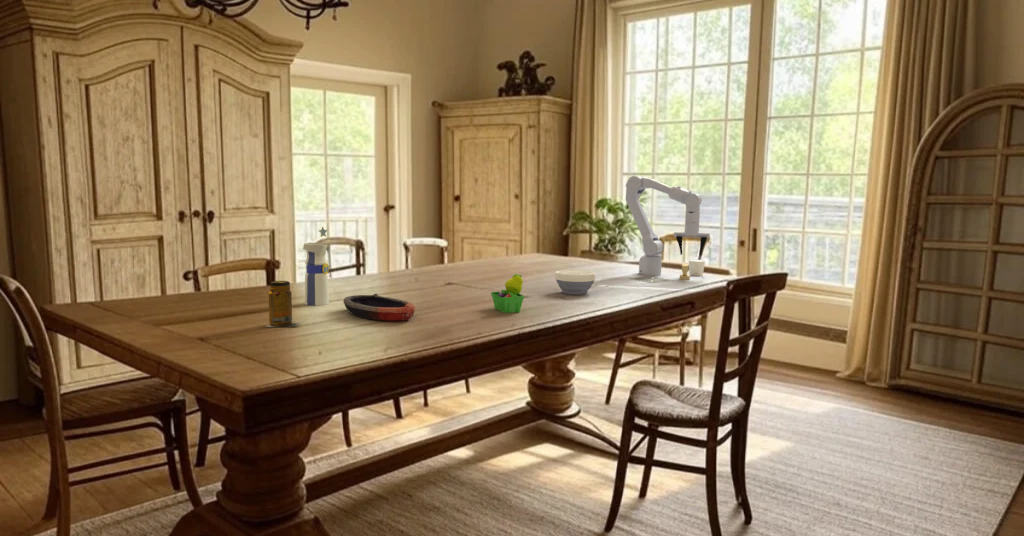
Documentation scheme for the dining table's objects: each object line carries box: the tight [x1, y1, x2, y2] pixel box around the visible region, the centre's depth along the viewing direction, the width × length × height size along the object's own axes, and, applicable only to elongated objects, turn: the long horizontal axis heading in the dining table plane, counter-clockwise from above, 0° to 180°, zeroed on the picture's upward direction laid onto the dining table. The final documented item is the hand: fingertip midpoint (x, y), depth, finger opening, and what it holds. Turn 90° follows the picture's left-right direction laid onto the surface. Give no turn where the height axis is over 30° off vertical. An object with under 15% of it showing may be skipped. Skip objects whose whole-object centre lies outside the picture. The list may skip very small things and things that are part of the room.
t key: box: [679, 263, 691, 281], centre depth 295 cm, size 9×4×6 cm, turn 167°
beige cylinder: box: [688, 259, 706, 277], centre depth 311 cm, size 7×7×7 cm
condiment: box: [265, 280, 303, 328], centre depth 196 cm, size 7×8×12 cm
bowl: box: [554, 269, 596, 296], centre depth 259 cm, size 14×14×8 cm
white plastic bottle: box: [302, 226, 330, 307], centre depth 229 cm, size 8×9×25 cm
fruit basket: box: [490, 273, 525, 314], centre depth 224 cm, size 11×9×11 cm
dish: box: [343, 293, 416, 322], centre depth 212 cm, size 16×31×5 cm, turn 42°
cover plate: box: [628, 276, 677, 284], centre depth 291 cm, size 14×14×1 cm
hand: (690, 254), depth 300 cm, fingers open, 7 cm apart
